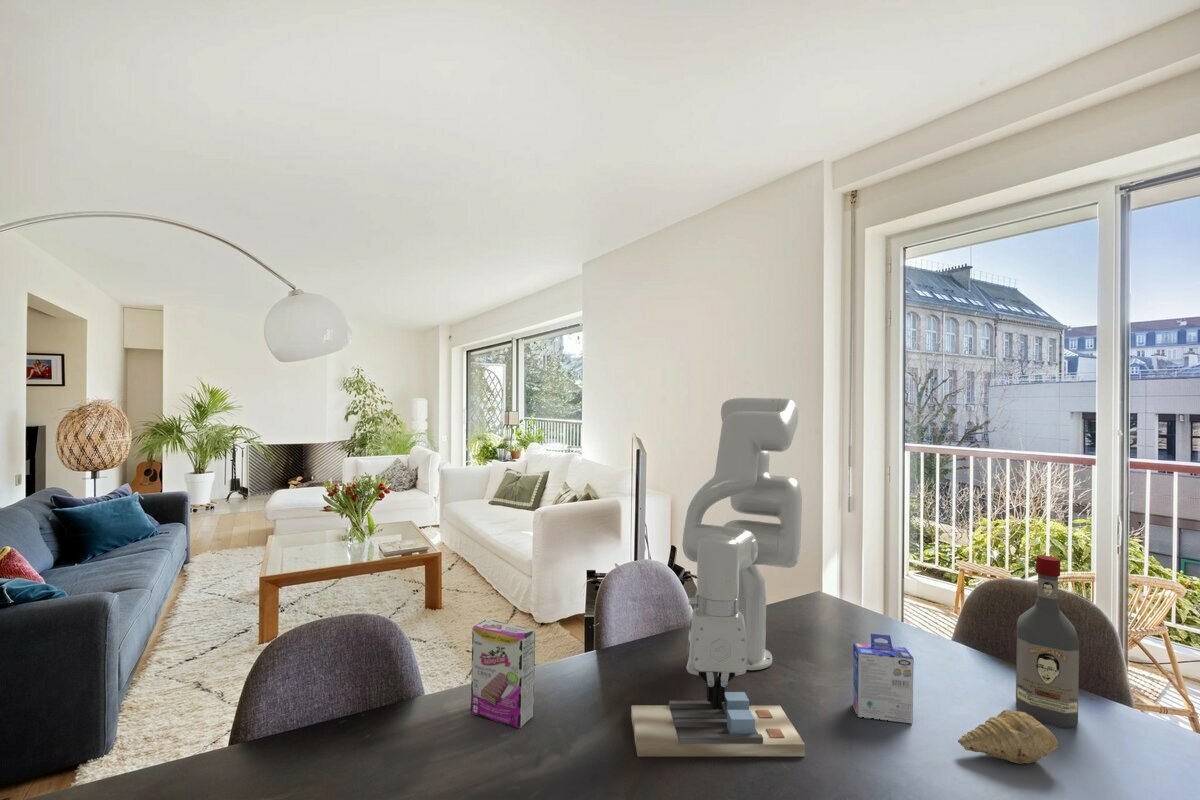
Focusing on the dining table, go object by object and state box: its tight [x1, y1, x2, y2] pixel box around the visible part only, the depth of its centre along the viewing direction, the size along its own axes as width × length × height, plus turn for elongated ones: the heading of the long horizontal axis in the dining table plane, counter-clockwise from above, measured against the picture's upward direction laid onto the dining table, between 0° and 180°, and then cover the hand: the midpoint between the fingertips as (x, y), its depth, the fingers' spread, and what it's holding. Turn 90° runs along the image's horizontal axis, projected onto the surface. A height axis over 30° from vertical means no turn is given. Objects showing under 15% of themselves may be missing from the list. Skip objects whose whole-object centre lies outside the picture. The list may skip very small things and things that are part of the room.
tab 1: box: [723, 691, 750, 714], centre depth 103 cm, size 3×4×3 cm
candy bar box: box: [470, 618, 536, 729], centre depth 105 cm, size 11×5×16 cm, turn 65°
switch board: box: [630, 700, 806, 757], centre depth 100 cm, size 12×28×3 cm, turn 92°
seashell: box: [957, 709, 1059, 765], centre depth 95 cm, size 14×8×8 cm, turn 93°
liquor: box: [1015, 554, 1080, 729], centre depth 109 cm, size 9×9×30 cm
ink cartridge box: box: [852, 633, 915, 724], centre depth 108 cm, size 10×6×14 cm, turn 78°
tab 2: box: [727, 710, 755, 734], centre depth 97 cm, size 3×4×3 cm
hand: (715, 705), depth 103 cm, fingers closed
